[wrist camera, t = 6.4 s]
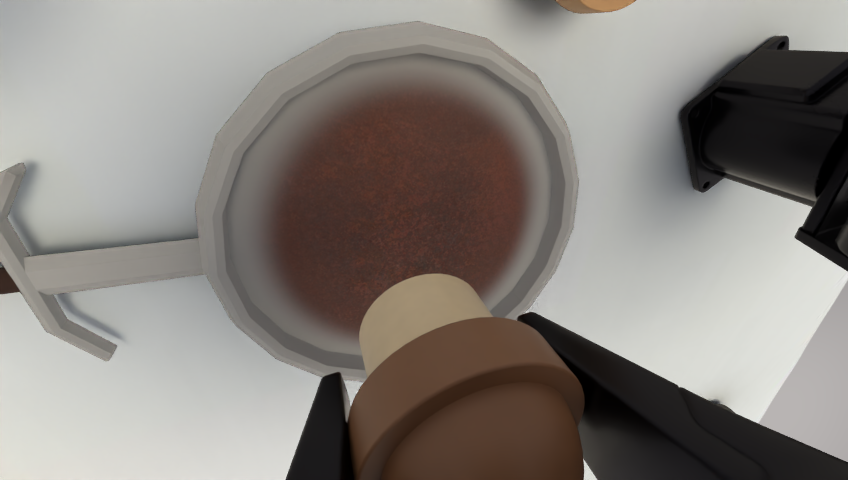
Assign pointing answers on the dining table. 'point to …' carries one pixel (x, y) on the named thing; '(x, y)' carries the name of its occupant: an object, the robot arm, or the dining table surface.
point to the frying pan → (350, 196)
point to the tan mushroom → (594, 5)
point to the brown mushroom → (460, 392)
